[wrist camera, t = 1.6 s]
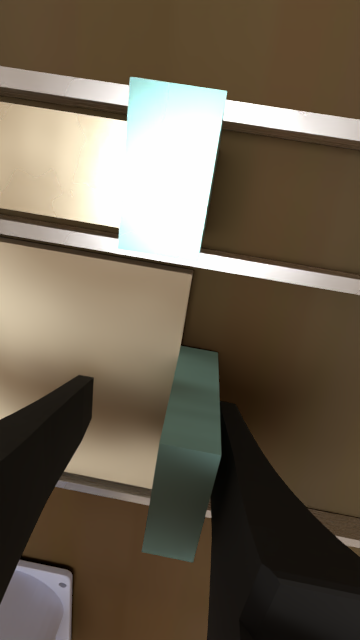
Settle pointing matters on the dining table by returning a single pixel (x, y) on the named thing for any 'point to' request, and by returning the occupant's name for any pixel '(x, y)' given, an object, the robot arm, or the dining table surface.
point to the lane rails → (144, 187)
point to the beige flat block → (117, 375)
